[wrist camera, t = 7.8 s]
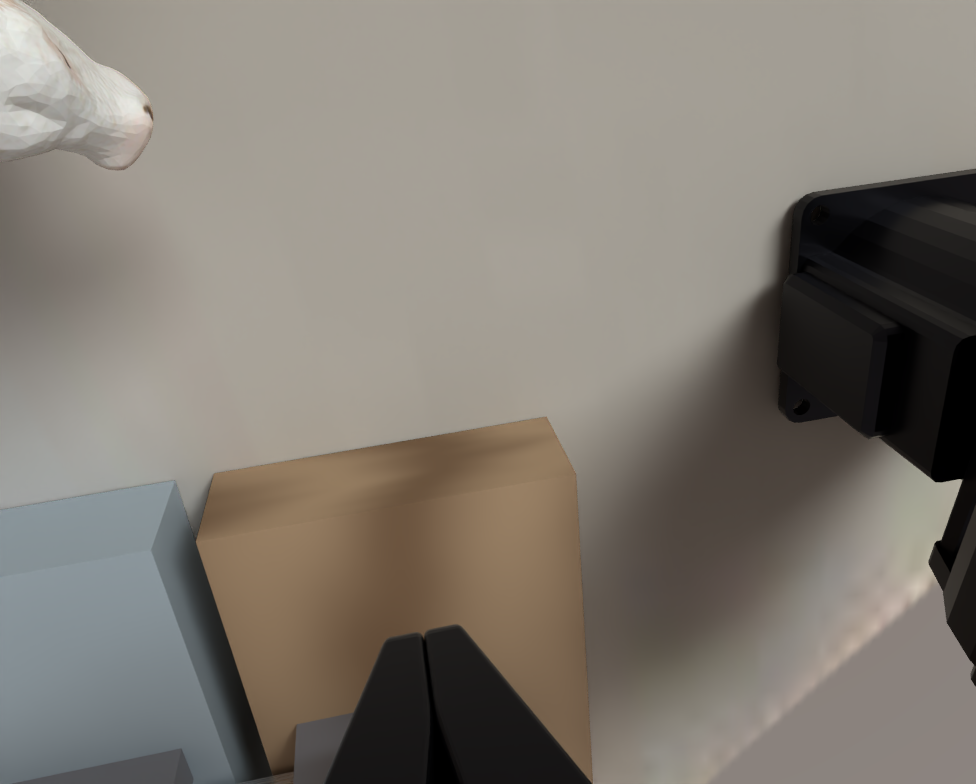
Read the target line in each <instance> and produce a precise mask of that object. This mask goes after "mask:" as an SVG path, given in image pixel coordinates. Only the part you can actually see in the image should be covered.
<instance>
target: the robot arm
mask: <svg viewBox="0 0 976 784" xmlns="http://www.w3.org/2000/svg"><path fill="white" fill-rule="evenodd" d="M818 206H820V207H821V212H820V215H819V216H818V217H817V219H816V220H813V221H811V214H812V211H813V210H814V209H815V208H816V207H818ZM777 365H778V367H779V368H780V369H781V375H780V387H779V400H778V406H779V410H780V412H781V413H782V414H783V415H784V416H785V417H786V418H787V419H788V420H790V421H792V422H798V423H800V422H806V421H812V420H817V419H823V418H828V417H834V416H839V417H840V418H842V419H843V420H844V421H845V422H847V423H848V424H849V425H850V426H852V427H853V428H854V429H855V430H856V431H858V432H859V433H860V434H861V435H863V436H864V437H866V438H868V439H871V438H876V437H879V438H880V439H881V440H882V441H884V442H885V443H886V444H887V445H889V446H890V447H891V448H893V449H894V450H895V451H896V452H898V453H899V454H900V455H901V456H903V457H904V458H905V459H907V460H908V461H909V462H910V463H912V464H913V465H914V466H916V467H917V468H918V469H919V470H921V471H922V472H923V473H924V474H926V475H927V476H928V477H930V478H931V479H932V480H933V481H935V482H946V481H951V480H957V479H961V480H963V481H962V484H961V486H960V489H959V492H958V495H957V498H956V500H955V503H954V506H953V509H952V512H951V515H950V517H949V520H948V523H947V526H946V529H945V531H944V534H943V537H942V540H940V541H936V543H935V544H934V547H933V550H932V553H931V556H930V559H929V561H928V562H929V566H930V567H931V569H932V571H933V573H934V575H935V577H936V579H937V581H938V583H939V585H940V586H941V588H942V590H943V596H944V604H945V612H946V619H947V624H948V625H949V627H950V629H951V630H952V632H953V633H954V635H955V637H956V638H957V640H958V642H959V643H960V645H961V646H962V648H963V650H964V651H965V653H966V655H967V656H968V658H969V660H970V661H972V663H973V664H974V667H973V669H972V672H971V680H972V682H973V683H974V685H975V686H976V169H971V170H964V171H957V172H950V173H943V174H936V175H929V176H922V177H915V178H908V179H901V180H894V181H887V182H880V183H873V184H866V185H860V186H853V187H846V188H839V189H832V190H825V191H818V192H812V193H809V194H807V195H805V196H804V197H803V198H801V199H800V200H799V202H798V203H797V205H796V206H795V210H794V214H793V225H792V237H791V250H790V262H789V275H788V277H787V279H786V281H785V282H784V284H783V294H782V307H781V320H780V333H779V345H778V358H777ZM802 399H803V401H802V403H801V405H800V406H799V407H797V408H795V409H793V408H794V405H795V404H796V403H797V402H798V401H799V400H802ZM323 784H592V782H591V781H590V780H589V779H588V778H587V776H586V775H585V774H584V773H583V772H582V770H581V769H580V768H579V767H578V766H577V764H576V763H575V762H574V761H573V760H572V758H571V757H570V756H569V755H568V754H567V752H566V751H565V750H564V749H563V748H562V746H561V745H560V744H559V743H558V741H557V740H556V739H555V738H554V737H553V735H552V734H551V733H550V732H549V731H548V729H547V728H546V727H545V726H544V725H543V723H542V722H541V721H540V720H539V719H538V717H537V716H536V715H535V714H534V713H533V711H532V710H531V709H530V708H529V706H528V705H527V704H526V703H525V702H524V700H523V699H522V698H521V697H520V696H519V694H518V693H517V692H516V691H515V690H514V688H513V687H512V686H511V685H510V684H509V682H508V681H507V680H506V679H505V678H504V676H503V675H502V674H501V673H500V671H499V670H498V669H497V668H496V667H495V665H494V664H493V663H492V662H491V661H490V659H489V658H488V657H487V656H486V655H485V653H484V652H483V651H482V650H481V649H480V647H479V646H478V645H477V644H476V643H475V641H474V640H473V639H472V638H471V637H470V635H469V634H468V633H467V632H466V630H465V629H464V628H463V627H462V626H460V625H458V624H453V625H448V626H443V627H438V628H433V629H429V630H427V631H426V632H425V634H424V638H423V635H422V634H421V633H419V632H413V633H408V634H403V635H398V636H393V637H389V638H387V639H386V640H385V641H384V643H383V645H382V647H381V649H380V652H379V654H378V656H377V659H376V661H375V663H374V666H373V668H372V670H371V673H370V675H369V677H368V680H367V682H366V684H365V687H364V689H363V691H362V694H361V696H360V699H359V701H358V703H357V706H356V708H355V710H354V713H353V715H352V717H351V720H350V722H349V724H348V727H347V729H346V731H345V734H344V736H343V738H342V741H341V743H340V745H339V748H338V750H337V752H336V755H335V757H334V760H333V762H332V764H331V767H330V769H329V771H328V774H327V776H326V778H325V781H324V783H323Z"/></svg>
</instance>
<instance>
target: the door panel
mask: <svg viewBox="0 0 976 784" xmlns="http://www.w3.org/2000/svg"><path fill="white" fill-rule="evenodd" d="M270 776H273V775H272V772H271V769H270V766H269V763H268V760H267V757H266V754H265V750H264V747H263V744H262V741H261V738H260V735H259V732H258V729H257V726H256V723H255V720H254V717H253V714H252V711H251V708H250V705H249V702H248V699H247V696H246V693H245V690H244V687H243V684H242V681H241V678H240V675H239V672H238V669H237V666H236V663H235V660H234V657H233V654H232V651H231V648H230V645H229V642H228V639H227V636H226V633H225V630H224V626H223V623H222V620H221V617H220V614H219V611H218V608H217V605H216V602H215V599H214V596H213V593H212V590H211V587H210V584H209V581H208V578H207V575H206V572H205V569H204V566H203V563H202V560H201V557H200V554H199V551H198V548H197V545H196V542H195V539H194V536H193V533H192V530H191V527H190V524H189V521H188V518H187V515H186V512H185V509H184V506H183V502H182V499H181V496H180V493H179V490H178V487H177V484H176V481H175V480H174V481H168V482H162V483H156V484H150V485H144V486H138V487H133V488H127V489H121V490H115V491H109V492H103V493H97V494H92V495H86V496H80V497H74V498H68V499H62V500H56V501H51V502H45V503H39V504H33V505H27V506H21V507H15V508H10V509H4V510H0V784H238V783H242V782H247V781H252V780H256V779H261V778H266V777H270Z"/></svg>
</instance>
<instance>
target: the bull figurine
mask: <svg viewBox="0 0 976 784" xmlns="http://www.w3.org/2000/svg"><path fill="white" fill-rule="evenodd" d="M152 131H153V110H152V106H151V104H150V101H149V99H148V98H147V96H146V95H145V94H144V93H143V92H142V91H141V89H140V88H139V87H137V86H136V85H135V84H134V83H133V82H132V81H130V80H129V79H128V78H127V77H126V76H125V75H123V74H122V73H120V72H118V71H116V70H115V69H112V68H110V67H107V66H104V65H101V64H98V63H96V62H94V61H93V60H91V59H90V58H89V57H88V56H87V55H86V54H85V53H84V52H83V51H82V50H81V49H80V48H79V47H78V46H77V45H76V44H75V43H74V42H73V41H71V40H70V39H69V38H68V37H67V36H66V35H65V34H64V33H62V32H61V31H60V30H58V29H57V28H56V27H55V26H53V25H52V24H51V23H50V22H48V21H47V20H46V19H45V18H44V17H43V16H42V15H41V14H40V13H39V12H37V11H36V10H34V9H33V8H31V7H30V6H28V5H27V4H25V3H24V2H22V1H21V0H0V161H12V160H17V159H22V158H26V157H30V156H34V155H38V154H42V153H45V152H48V151H51V150H54V149H58V150H65V151H70V152H75V153H78V154H81V155H84V156H86V157H87V158H88V159H90V160H91V161H93V162H94V163H95V164H97V165H99V166H101V167H104V168H106V169H110V170H124V169H126V168H128V167H129V166H131V165H132V164H133V163H134V162H135V161H136V160H137V158H138V157H139V156H140V154H141V153H142V151H143V150H144V148H145V147H146V145H147V144H148V142H149V140H150V137H151V134H152Z"/></svg>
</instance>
